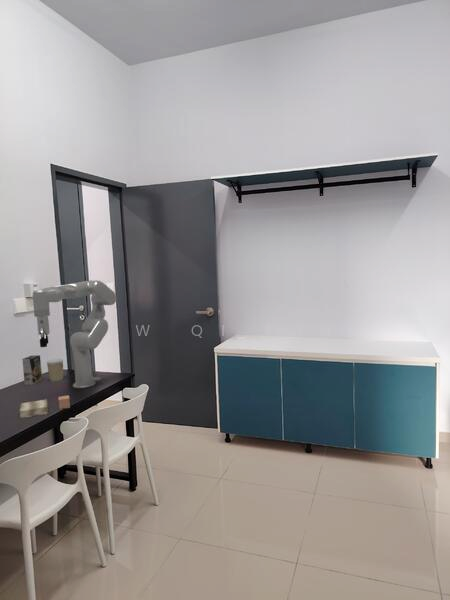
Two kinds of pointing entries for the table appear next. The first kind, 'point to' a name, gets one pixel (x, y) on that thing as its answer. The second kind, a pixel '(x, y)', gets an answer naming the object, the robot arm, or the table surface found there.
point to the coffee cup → (55, 369)
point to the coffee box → (32, 370)
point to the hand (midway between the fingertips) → (44, 345)
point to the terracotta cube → (64, 402)
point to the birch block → (33, 408)
